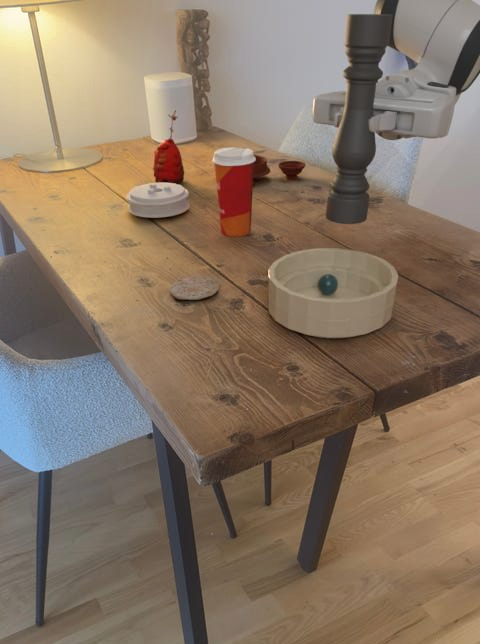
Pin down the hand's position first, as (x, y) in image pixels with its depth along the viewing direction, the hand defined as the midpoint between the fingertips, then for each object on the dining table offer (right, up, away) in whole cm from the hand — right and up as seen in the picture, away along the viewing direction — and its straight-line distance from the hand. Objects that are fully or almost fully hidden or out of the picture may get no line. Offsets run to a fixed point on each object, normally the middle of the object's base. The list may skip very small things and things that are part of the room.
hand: (353, 123), depth 78 cm
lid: (-32, +3, +40) cm, 51 cm away
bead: (-3, -21, +6) cm, 22 cm away
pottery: (-10, +17, +56) cm, 59 cm away
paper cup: (-16, -5, +30) cm, 34 cm away
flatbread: (-23, -21, +10) cm, 32 cm away
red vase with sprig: (-32, +16, +56) cm, 66 cm away
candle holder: (+1, -10, +8) cm, 13 cm away
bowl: (-3, -25, +4) cm, 26 cm away
